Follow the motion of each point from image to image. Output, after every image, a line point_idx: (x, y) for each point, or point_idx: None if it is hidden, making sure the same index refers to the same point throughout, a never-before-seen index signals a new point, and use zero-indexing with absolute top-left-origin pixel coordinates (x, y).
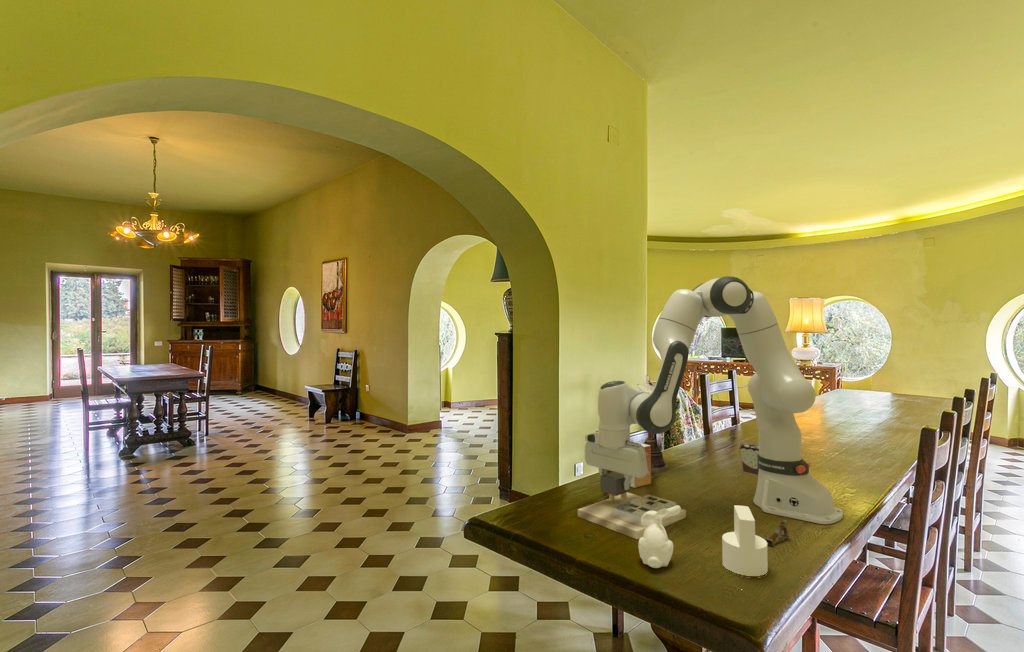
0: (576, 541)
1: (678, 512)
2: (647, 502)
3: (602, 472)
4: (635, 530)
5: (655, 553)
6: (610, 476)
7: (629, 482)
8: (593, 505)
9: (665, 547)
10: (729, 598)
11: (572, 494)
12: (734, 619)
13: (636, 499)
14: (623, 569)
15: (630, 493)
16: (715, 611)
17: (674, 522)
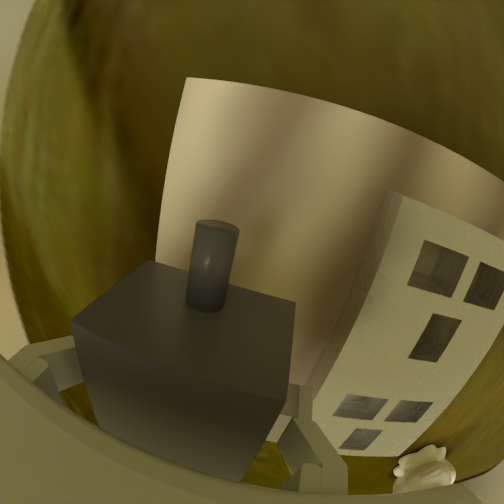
0: (253, 473)
1: (484, 501)
2: (419, 335)
3: (59, 382)
4: None
5: None
6: (158, 451)
7: (315, 429)
8: None
9: None
10: (490, 456)
11: (32, 207)
12: (479, 472)
13: (356, 335)
14: (368, 490)
15: (215, 84)
16: (467, 476)
17: None
